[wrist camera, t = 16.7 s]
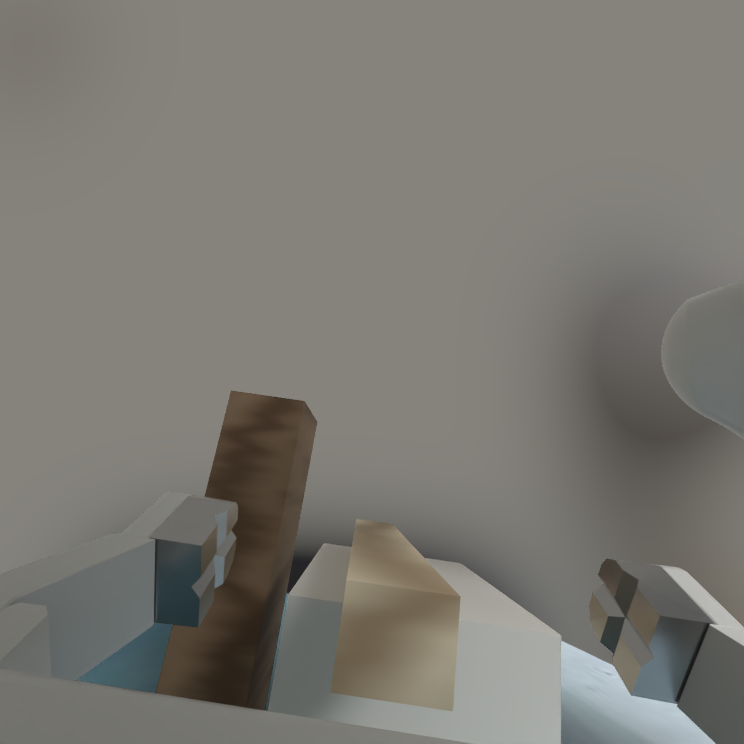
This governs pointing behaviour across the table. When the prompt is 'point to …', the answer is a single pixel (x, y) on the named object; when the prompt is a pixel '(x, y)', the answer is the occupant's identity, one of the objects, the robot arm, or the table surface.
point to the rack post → (247, 554)
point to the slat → (395, 624)
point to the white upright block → (473, 663)
